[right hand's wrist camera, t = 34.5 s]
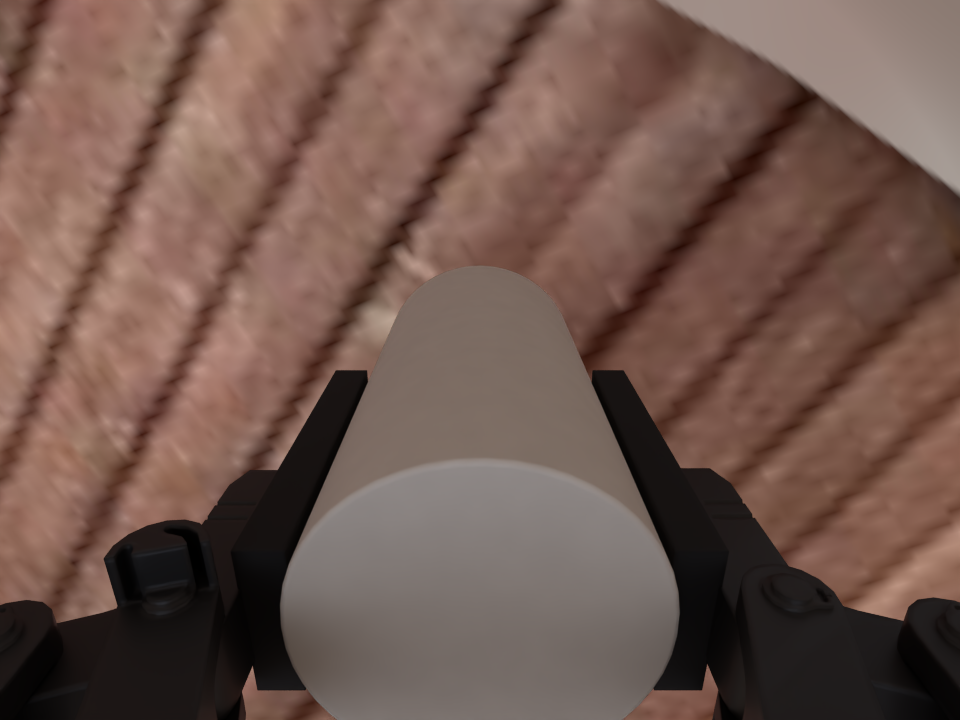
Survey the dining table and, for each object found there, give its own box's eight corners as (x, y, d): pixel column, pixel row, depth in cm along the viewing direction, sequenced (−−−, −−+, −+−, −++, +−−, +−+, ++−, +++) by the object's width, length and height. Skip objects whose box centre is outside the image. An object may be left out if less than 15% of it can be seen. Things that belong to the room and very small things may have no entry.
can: (583, 413, 19) (701, 735, 9) (417, 448, 19) (351, 792, 9) (550, 245, 17) (653, 417, 7) (366, 289, 17) (212, 511, 7)
